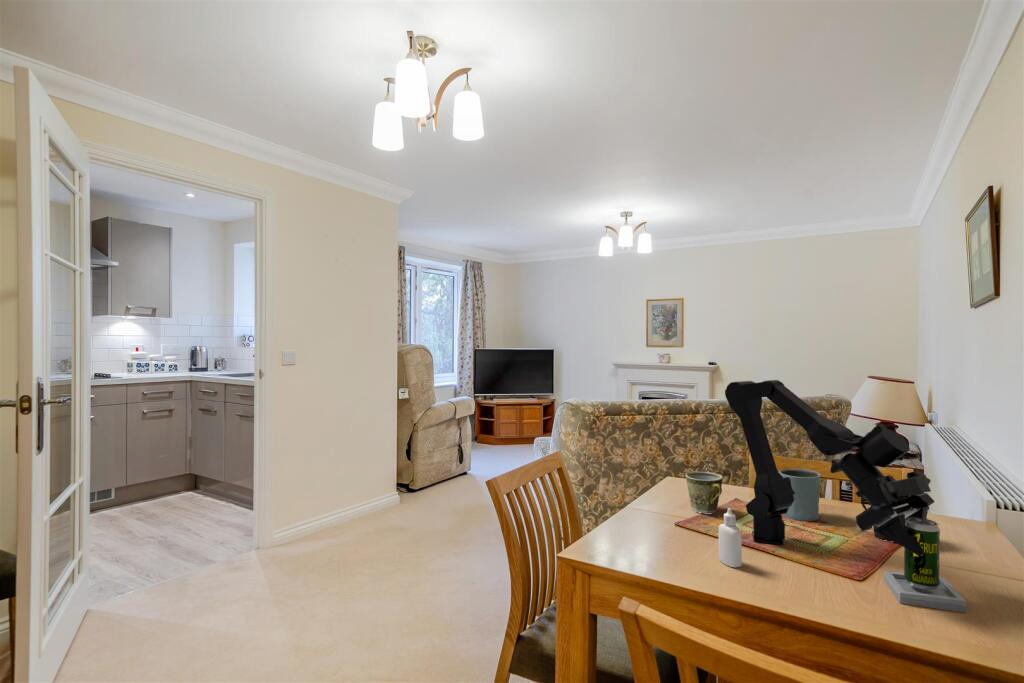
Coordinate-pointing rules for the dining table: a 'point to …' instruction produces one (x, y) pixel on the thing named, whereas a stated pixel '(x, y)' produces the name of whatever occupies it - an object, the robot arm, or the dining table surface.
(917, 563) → the green soda can
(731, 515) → the eye dropper bottle
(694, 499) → the ceramic cup
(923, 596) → the coaster
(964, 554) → the dining table surface
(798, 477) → the blue-grey flared vase
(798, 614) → the dining table surface
